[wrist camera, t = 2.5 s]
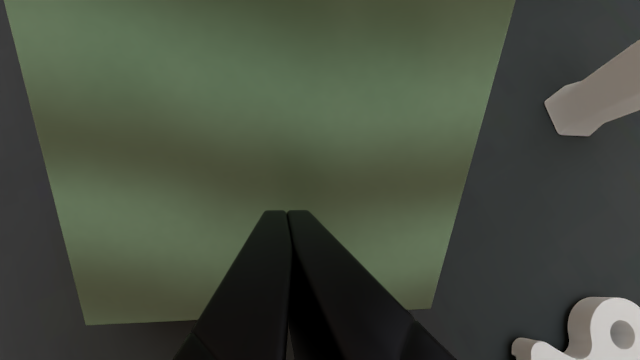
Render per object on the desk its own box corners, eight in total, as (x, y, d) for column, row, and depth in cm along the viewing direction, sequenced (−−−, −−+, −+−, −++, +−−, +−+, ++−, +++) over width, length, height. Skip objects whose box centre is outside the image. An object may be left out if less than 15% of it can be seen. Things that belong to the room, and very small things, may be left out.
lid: (-4, -99, 10) (-24, -102, 9) (513, -49, 12) (530, -48, 11) (92, 309, 15) (84, 326, 15) (423, 295, 18) (430, 309, 17)
